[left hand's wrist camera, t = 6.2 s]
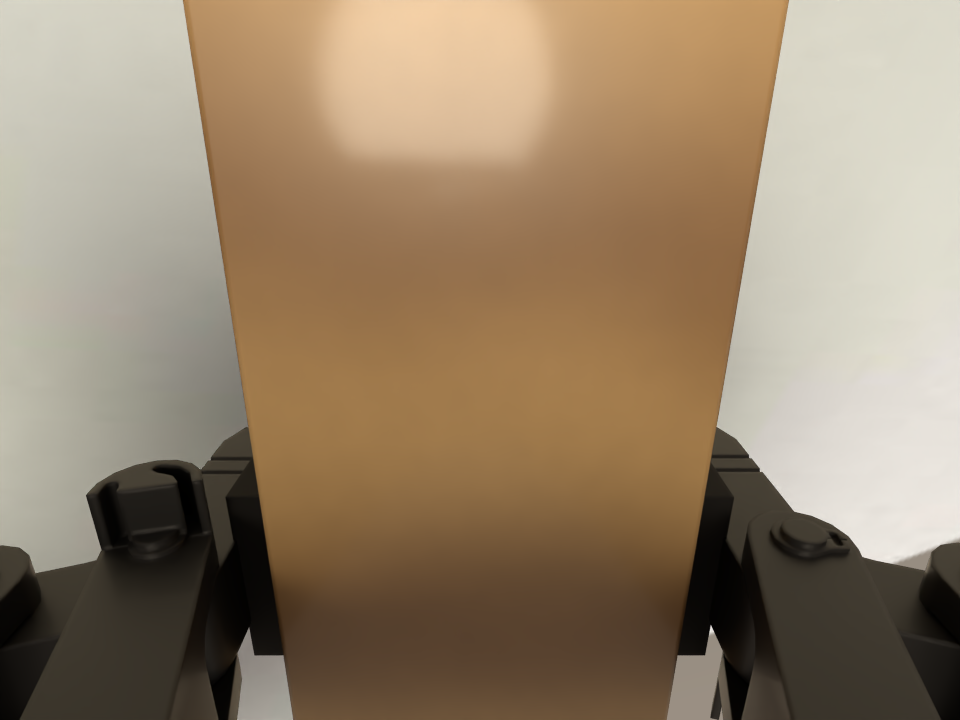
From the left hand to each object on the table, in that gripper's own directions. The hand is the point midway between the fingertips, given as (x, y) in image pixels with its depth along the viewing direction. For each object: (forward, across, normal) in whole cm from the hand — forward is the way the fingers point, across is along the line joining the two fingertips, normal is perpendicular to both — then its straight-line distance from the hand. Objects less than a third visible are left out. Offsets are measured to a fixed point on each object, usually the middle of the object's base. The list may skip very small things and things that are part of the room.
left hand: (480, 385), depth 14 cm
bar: (+1, 0, -32) cm, 32 cm away
